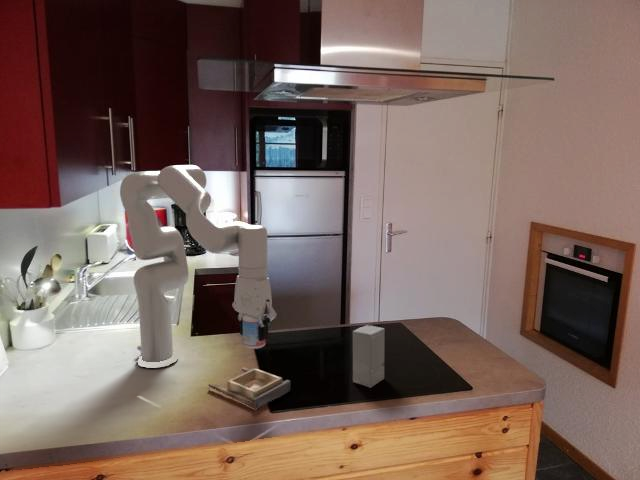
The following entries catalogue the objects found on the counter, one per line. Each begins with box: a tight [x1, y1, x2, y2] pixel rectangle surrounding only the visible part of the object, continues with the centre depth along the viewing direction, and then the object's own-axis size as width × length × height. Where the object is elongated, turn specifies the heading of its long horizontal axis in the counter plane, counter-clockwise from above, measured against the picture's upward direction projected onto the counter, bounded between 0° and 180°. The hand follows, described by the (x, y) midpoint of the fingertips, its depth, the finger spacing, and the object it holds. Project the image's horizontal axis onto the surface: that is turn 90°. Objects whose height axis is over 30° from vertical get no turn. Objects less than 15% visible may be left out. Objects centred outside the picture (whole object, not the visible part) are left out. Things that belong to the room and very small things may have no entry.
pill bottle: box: [242, 314, 267, 350], centre depth 137 cm, size 6×6×11 cm
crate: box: [227, 367, 283, 399], centre depth 140 cm, size 11×11×4 cm
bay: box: [207, 366, 291, 409], centre depth 142 cm, size 18×14×4 cm
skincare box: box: [352, 324, 386, 389], centre depth 149 cm, size 8×7×16 cm
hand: (254, 335), depth 138 cm, fingers closed on pill bottle, 6 cm apart
